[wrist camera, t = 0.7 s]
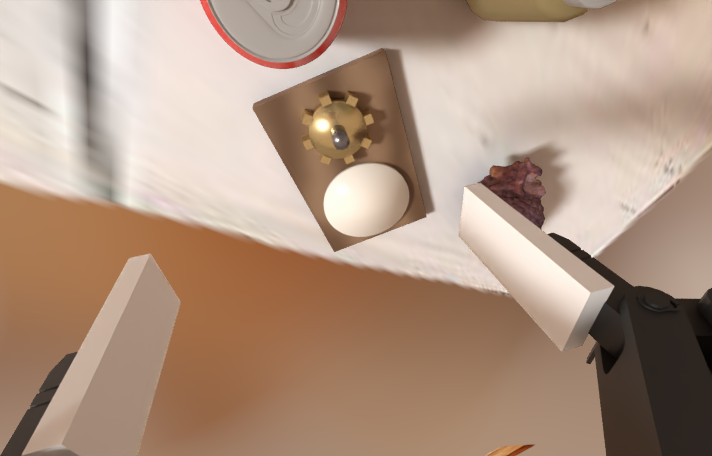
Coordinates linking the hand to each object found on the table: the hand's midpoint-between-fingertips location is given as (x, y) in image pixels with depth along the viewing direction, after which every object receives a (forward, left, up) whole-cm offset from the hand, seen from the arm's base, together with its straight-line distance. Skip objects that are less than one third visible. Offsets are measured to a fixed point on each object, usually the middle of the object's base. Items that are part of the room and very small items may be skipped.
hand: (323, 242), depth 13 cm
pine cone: (-18, +24, -24) cm, 38 cm away
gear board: (-2, +11, -24) cm, 27 cm away
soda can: (-2, -8, -24) cm, 26 cm away
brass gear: (-2, +5, -23) cm, 23 cm away
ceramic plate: (-2, +15, -23) cm, 27 cm away
